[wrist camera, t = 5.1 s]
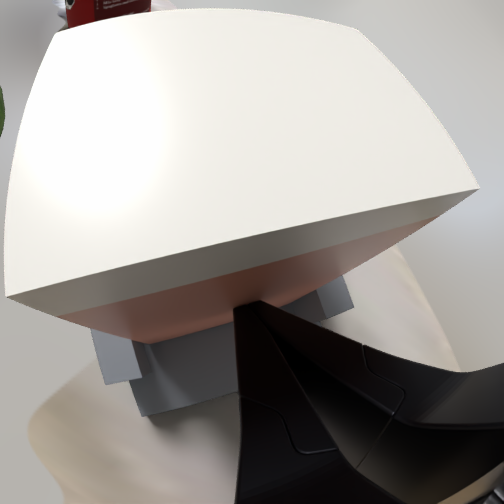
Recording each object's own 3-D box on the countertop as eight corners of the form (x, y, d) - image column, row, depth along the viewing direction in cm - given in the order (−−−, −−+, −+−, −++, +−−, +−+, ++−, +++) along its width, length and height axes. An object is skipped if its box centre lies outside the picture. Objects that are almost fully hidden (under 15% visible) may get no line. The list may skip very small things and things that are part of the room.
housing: (327, 352, 15) (414, 343, 9) (139, 413, 12) (103, 460, 5) (254, 159, 18) (288, 77, 12) (92, 191, 15) (59, 107, 9)
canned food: (95, 36, 21) (93, -45, 11) (160, 36, 22) (169, -53, 12) (59, 73, 18) (43, -23, 8) (131, 72, 19) (132, -40, 9)
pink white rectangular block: (287, 304, 14) (479, 187, 4) (149, 344, 12) (5, 296, 2) (255, 215, 16) (356, 29, 5) (126, 244, 13) (55, 33, 3)
